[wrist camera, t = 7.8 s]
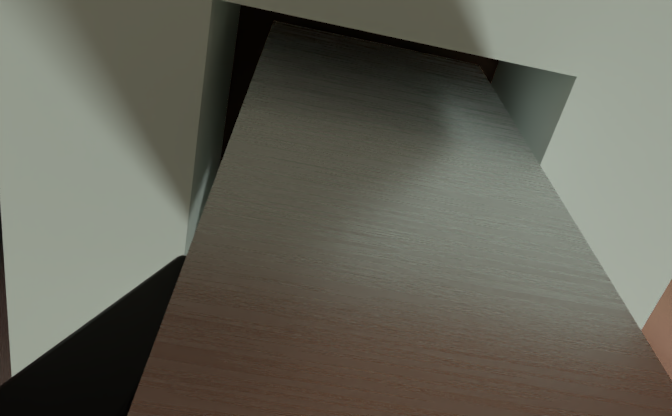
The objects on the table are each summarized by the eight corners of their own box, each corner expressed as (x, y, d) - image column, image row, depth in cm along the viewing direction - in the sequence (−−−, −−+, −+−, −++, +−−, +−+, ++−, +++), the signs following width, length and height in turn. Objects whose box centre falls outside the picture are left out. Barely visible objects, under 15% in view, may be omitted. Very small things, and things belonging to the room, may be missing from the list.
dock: (514, 349, 18) (556, 472, 14) (80, 276, 17) (12, 391, 13) (735, -119, 12) (897, -102, 8) (86, -285, 11) (-36, -344, 7)
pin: (421, 235, 14) (547, 854, 6) (244, 202, 14) (81, 813, 5) (479, 64, 12) (812, 613, 4) (273, 19, 12) (90, 513, 3)
